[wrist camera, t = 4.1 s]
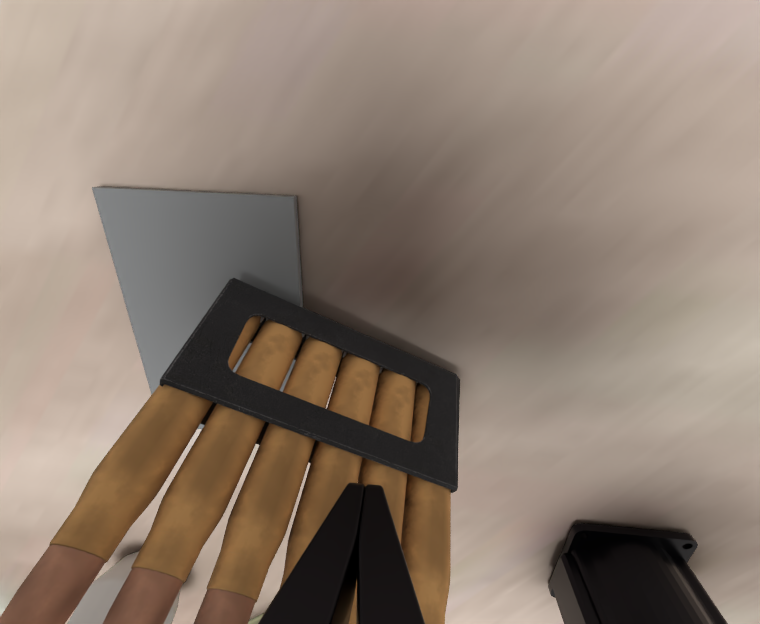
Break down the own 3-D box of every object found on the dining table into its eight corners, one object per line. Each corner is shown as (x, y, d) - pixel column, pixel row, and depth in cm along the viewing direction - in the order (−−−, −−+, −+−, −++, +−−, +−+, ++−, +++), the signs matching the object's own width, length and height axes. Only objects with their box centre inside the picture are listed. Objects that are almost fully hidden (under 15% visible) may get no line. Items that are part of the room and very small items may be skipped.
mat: (296, 195, 14) (293, 197, 13) (310, 432, 19) (308, 438, 18) (100, 186, 14) (91, 187, 14) (165, 420, 19) (160, 425, 19)
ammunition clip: (461, 376, 16) (476, 855, 7) (439, 396, 17) (428, 828, 8) (231, 276, 14) (-158, 753, 5) (224, 306, 15) (-99, 736, 6)
